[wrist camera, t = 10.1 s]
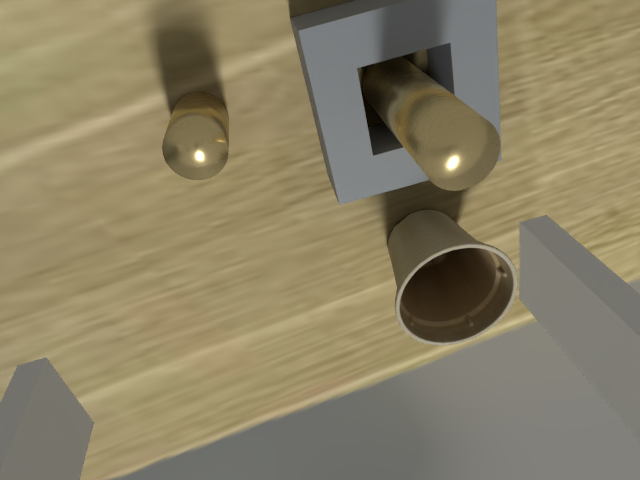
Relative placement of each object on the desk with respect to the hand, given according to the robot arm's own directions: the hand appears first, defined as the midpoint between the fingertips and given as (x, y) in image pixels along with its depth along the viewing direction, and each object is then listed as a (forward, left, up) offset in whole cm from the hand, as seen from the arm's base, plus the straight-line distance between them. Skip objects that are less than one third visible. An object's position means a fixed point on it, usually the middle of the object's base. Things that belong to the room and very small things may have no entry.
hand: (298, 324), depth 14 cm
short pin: (-5, -1, -26) cm, 26 cm away
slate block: (+9, -2, -26) cm, 27 cm away
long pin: (+9, -2, -26) cm, 27 cm away
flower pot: (+10, -17, -26) cm, 32 cm away
